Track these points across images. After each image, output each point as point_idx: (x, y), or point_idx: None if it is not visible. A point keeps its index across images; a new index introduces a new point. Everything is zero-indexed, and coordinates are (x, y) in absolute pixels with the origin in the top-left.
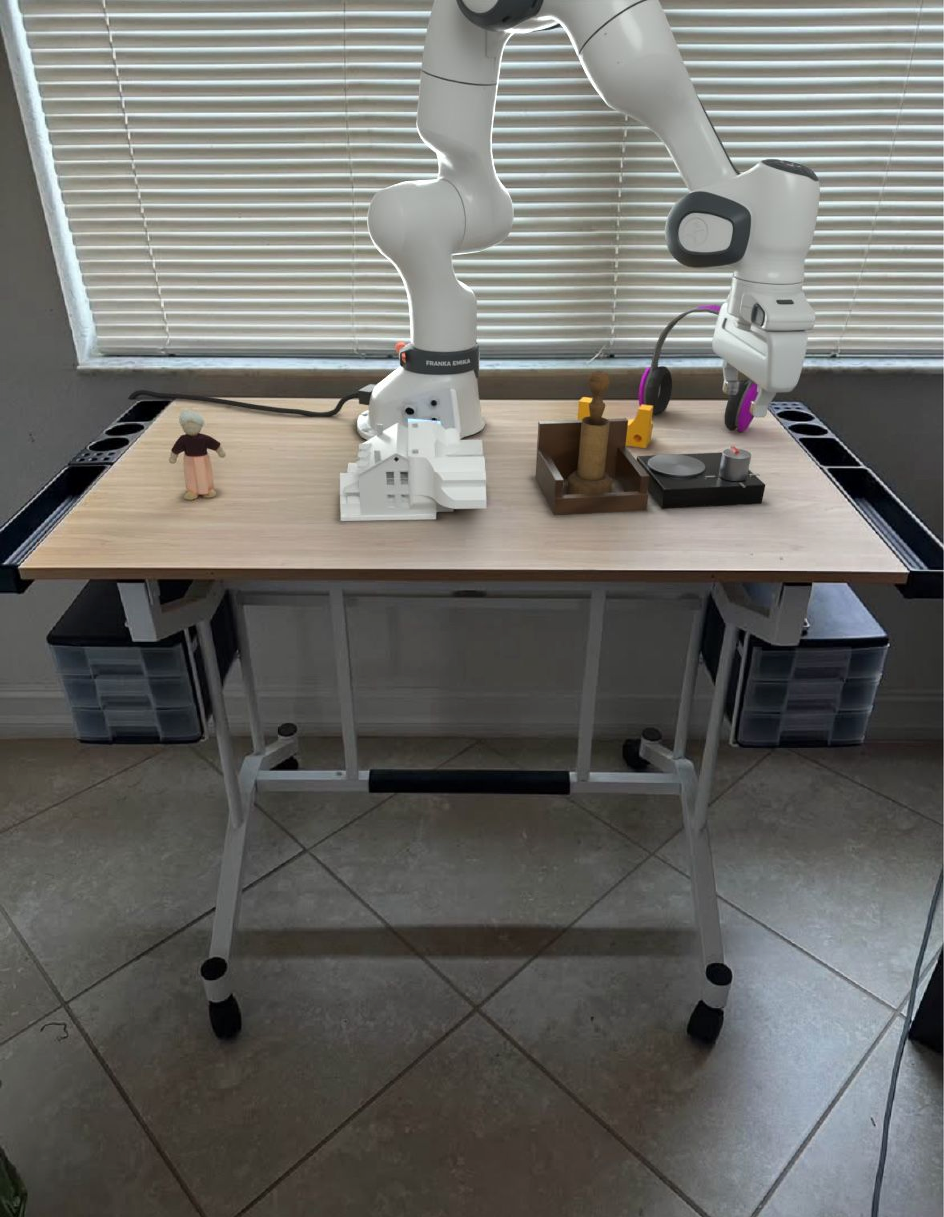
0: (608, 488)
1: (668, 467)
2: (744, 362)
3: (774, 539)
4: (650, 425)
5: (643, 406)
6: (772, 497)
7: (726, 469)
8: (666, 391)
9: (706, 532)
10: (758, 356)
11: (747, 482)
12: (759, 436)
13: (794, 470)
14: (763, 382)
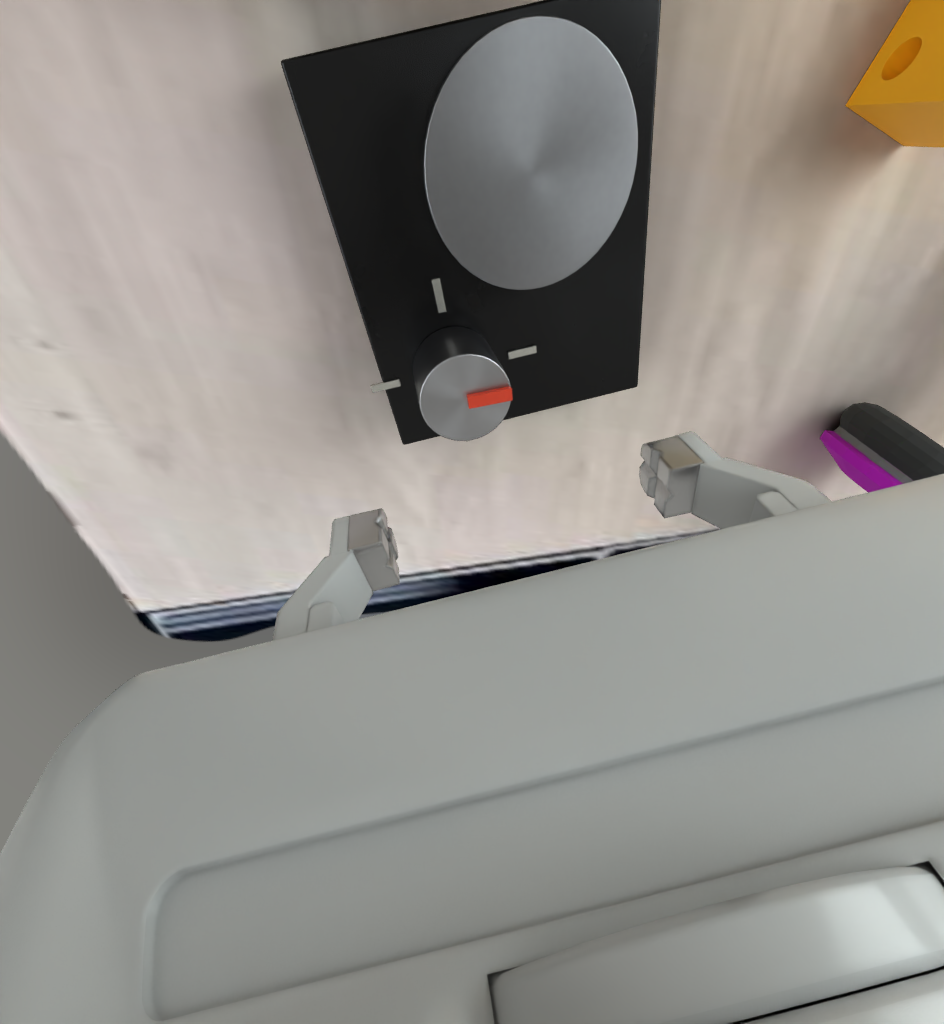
0: None
1: (499, 125)
2: (494, 648)
3: (183, 417)
4: (939, 126)
5: None
6: (444, 447)
7: (426, 351)
8: None
9: (143, 227)
10: (293, 804)
11: (412, 402)
12: (789, 467)
13: (593, 506)
14: (167, 694)
